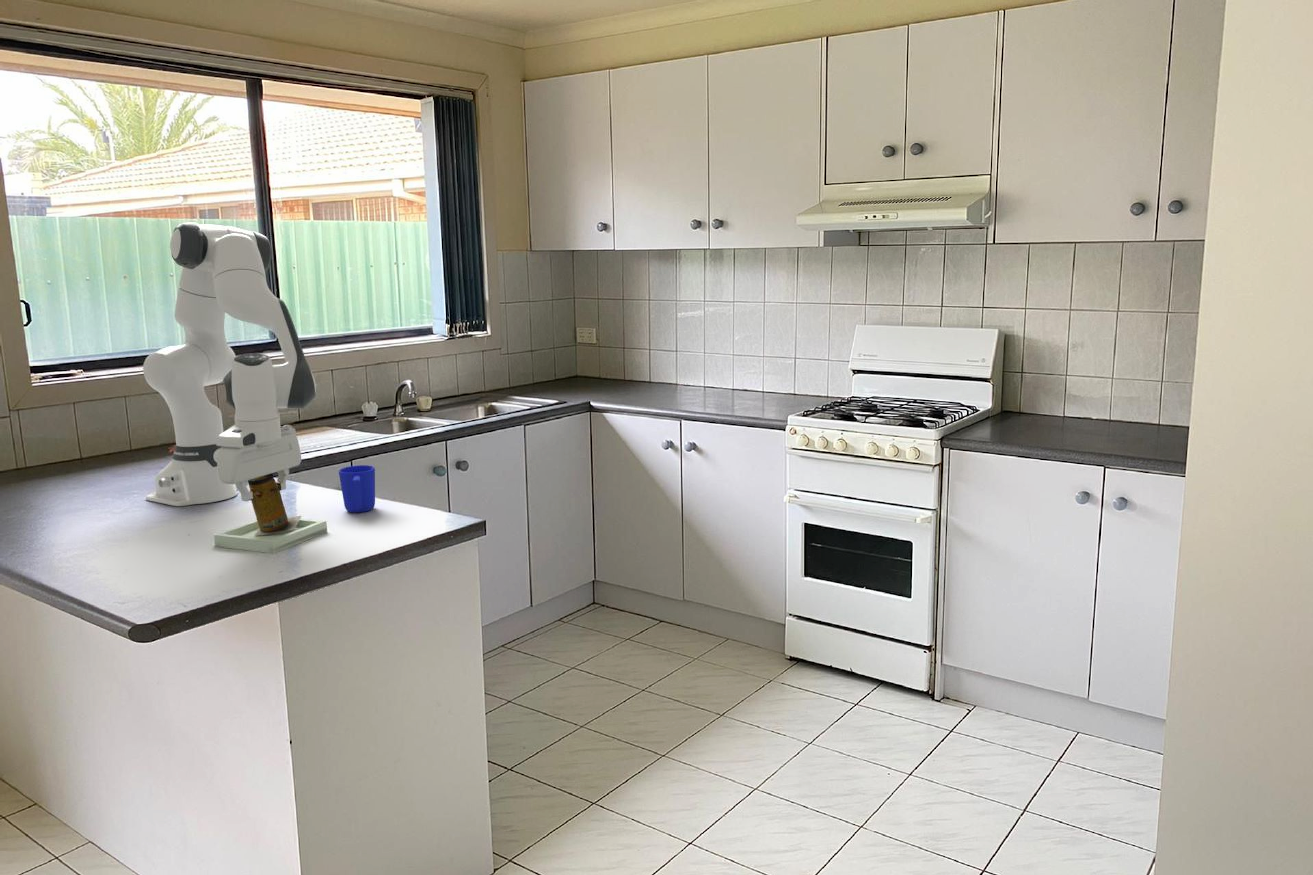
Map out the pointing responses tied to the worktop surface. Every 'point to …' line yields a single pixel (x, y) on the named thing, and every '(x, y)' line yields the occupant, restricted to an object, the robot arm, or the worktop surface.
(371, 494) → the mug
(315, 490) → the worktop surface
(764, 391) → the worktop surface
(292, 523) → the condiment
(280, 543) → the tray
